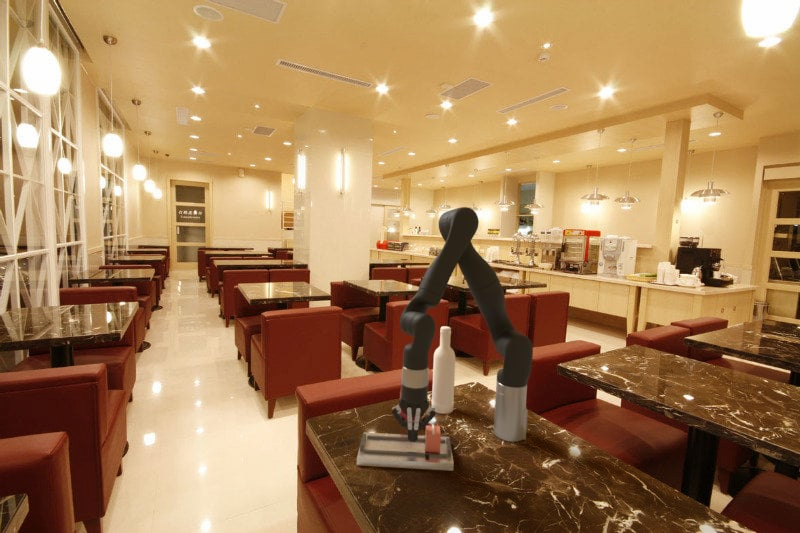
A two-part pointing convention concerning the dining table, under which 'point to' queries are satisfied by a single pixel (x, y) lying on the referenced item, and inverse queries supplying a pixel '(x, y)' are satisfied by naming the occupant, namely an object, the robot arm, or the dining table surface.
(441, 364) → the bottle
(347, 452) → the dining table surface
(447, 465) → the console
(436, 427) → the fader knob
